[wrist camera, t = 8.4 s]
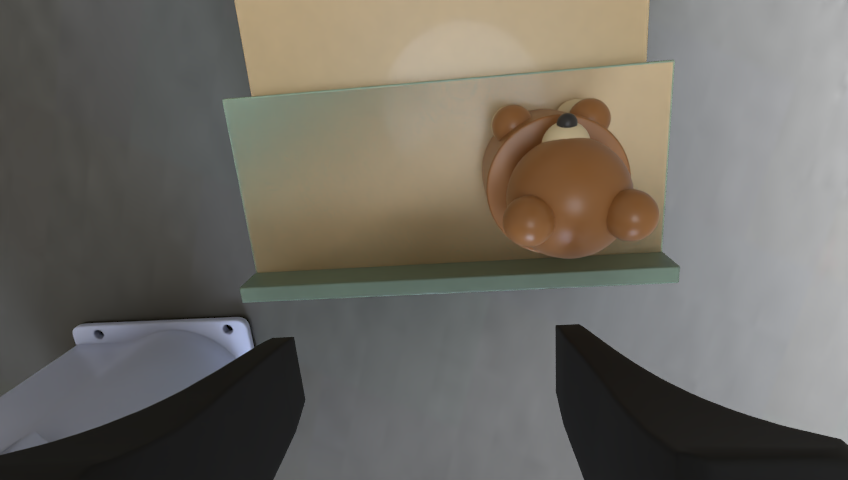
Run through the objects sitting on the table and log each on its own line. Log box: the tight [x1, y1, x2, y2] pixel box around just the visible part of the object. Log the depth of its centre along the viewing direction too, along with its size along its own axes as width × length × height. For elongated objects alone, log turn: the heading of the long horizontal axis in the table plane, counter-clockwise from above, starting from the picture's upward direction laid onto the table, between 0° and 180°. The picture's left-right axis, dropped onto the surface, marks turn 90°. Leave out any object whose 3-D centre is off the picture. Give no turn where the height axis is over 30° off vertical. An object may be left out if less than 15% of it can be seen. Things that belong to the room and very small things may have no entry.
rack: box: [223, 0, 680, 303], centre depth 18 cm, size 15×14×6 cm
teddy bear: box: [482, 98, 659, 259], centre depth 14 cm, size 4×4×6 cm
